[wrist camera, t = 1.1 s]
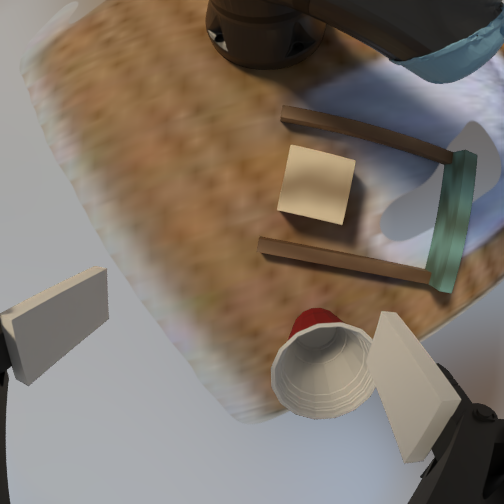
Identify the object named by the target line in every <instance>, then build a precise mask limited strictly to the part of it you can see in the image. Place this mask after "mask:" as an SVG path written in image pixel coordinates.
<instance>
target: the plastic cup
mask: <svg viewBox="0 0 504 504" xmlns="http://www.w3.org/2000/svg"><path fill="white" fill-rule="evenodd" d="M372 342H373V339H372V338H371V337H370V336H369V335H367V334H366V333H365V332H364V331H363V330H362V329H360V328H357V327H354V326H351V325H348V324H345V323H343V322H342V321H341V320H340V319H339V318H338V317H337V316H335V315H334V314H332V313H331V312H330V311H328V310H325V309H322V308H311V309H309V310H307V311H305V312H303V313H302V314H301V315H300V316H299V317H298V318H297V319H296V321H295V323H294V326H293V328H292V331H291V333H290V336H289V339H288V341H287V342H286V343H285V344H284V345H283V346H282V347H281V348H280V349H279V351H278V353H277V356H276V358H275V360H274V362H273V365H272V367H271V385H272V389H273V391H274V392H275V394H276V396H277V398H278V400H279V402H280V403H281V404H282V405H284V406H285V407H286V408H288V409H289V410H290V411H292V412H293V413H294V414H296V415H300V416H303V417H307V418H311V419H328V418H336V417H339V416H341V415H344V414H346V413H349V412H351V411H354V410H355V409H356V408H358V407H359V406H360V405H361V404H362V403H364V402H365V401H366V400H367V399H368V398H369V397H370V396H371V395H372V393H373V391H374V389H375V388H376V386H375V383H374V381H373V378H372V376H371V373H370V371H369V369H368V366H367V364H366V360H367V357H368V354H369V351H370V348H371V345H372Z"/></svg>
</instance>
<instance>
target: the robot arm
mask: <svg viewBox="0 0 504 504" xmlns="http://www.w3.org/2000/svg"><path fill="white" fill-rule="evenodd" d="M326 24H328V25H330V26H332V27H334V28H336V29H338V30H340V31H342V32H344V33H346V34H348V35H350V36H352V37H353V38H355V39H357V40H359V41H361V42H363V43H364V44H366V45H368V46H369V47H371V48H373V49H375V50H376V51H378V52H380V53H381V54H383V55H384V56H386V57H388V58H389V60H390V61H391V62H392V63H394V64H397V65H402V66H403V67H405V68H406V69H408V70H410V71H411V72H413V73H414V74H416V75H418V76H419V77H421V78H422V79H424V80H426V81H428V82H431V83H435V84H443V83H452V82H455V81H458V80H460V79H462V78H464V77H466V76H468V75H470V74H472V73H473V72H475V71H476V70H478V69H479V68H480V67H482V66H483V65H484V64H485V63H486V62H487V61H489V60H490V59H491V58H492V57H493V56H494V55H495V54H496V53H497V51H498V50H499V49H500V48H501V46H502V45H503V43H504V4H503V3H502V0H209V3H208V8H207V13H206V29H207V33H208V35H209V37H210V40H211V42H212V44H213V45H214V47H215V48H216V50H217V51H218V52H219V53H220V54H221V55H222V56H224V57H225V58H226V59H228V60H230V61H231V62H233V63H235V64H238V65H241V66H244V67H247V68H252V69H261V70H271V69H280V68H285V67H288V66H292V65H294V64H297V63H299V62H301V61H303V60H304V59H306V58H307V57H309V56H310V55H311V54H312V53H313V52H314V51H315V50H316V49H317V48H318V46H319V45H320V43H321V41H322V38H323V35H324V31H325V26H326ZM108 319H109V312H108V291H107V268H102V267H97V266H94V267H92V268H90V269H87V270H85V271H83V272H81V273H79V274H77V275H75V276H73V277H71V278H69V279H67V280H65V281H63V282H61V283H58V284H57V285H54V286H53V287H50V288H49V289H47V290H44V291H43V292H40V293H39V294H37V295H35V296H33V297H31V298H29V299H27V300H25V301H23V302H21V303H19V304H17V305H15V306H13V307H12V308H10V309H8V310H6V311H4V312H2V313H0V504H10V498H9V490H8V480H7V467H6V439H5V438H6V436H5V435H6V405H7V391H8V381H9V377H8V373H7V369H8V368H10V367H11V366H12V368H13V372H14V375H15V378H16V379H17V380H19V381H20V382H22V383H24V384H26V385H27V386H29V385H30V384H32V382H34V381H35V380H36V379H37V378H38V377H40V376H41V375H42V374H43V373H44V372H45V371H47V370H48V369H49V368H50V367H51V366H53V365H54V364H55V363H56V362H57V361H58V360H60V359H61V358H62V357H63V356H64V355H66V354H67V353H68V352H69V351H70V350H72V349H73V348H74V347H75V346H76V345H78V344H79V343H80V342H81V341H82V340H84V339H85V338H86V337H87V336H88V335H90V334H91V333H92V332H93V331H95V330H96V329H97V328H98V327H100V326H101V325H102V324H103V323H104V322H106V321H107V320H108ZM366 364H367V366H368V369H369V371H370V373H371V376H372V378H373V381H374V383H375V386H376V388H377V391H378V393H379V396H380V399H381V401H382V404H383V406H384V409H385V412H386V414H387V417H388V420H389V422H390V425H391V428H392V431H393V433H394V436H395V439H396V442H397V444H398V447H399V450H400V453H401V456H402V459H403V462H404V463H413V462H420V461H424V459H425V458H426V456H427V455H428V454H429V452H430V451H431V449H432V451H433V453H434V456H435V458H434V459H433V460H432V462H431V463H430V464H429V466H428V467H427V469H426V470H425V471H424V472H423V474H422V475H421V476H420V477H421V478H422V480H421V482H420V484H419V485H418V487H417V489H416V491H415V492H414V494H413V496H412V497H411V499H410V501H409V502H408V504H504V419H498V418H497V415H496V413H495V412H494V411H493V410H492V409H491V408H489V407H488V406H486V405H483V404H479V403H472V402H471V401H470V399H469V398H468V397H467V395H466V394H465V392H464V391H463V390H462V388H461V387H460V386H458V383H457V382H456V380H455V379H453V376H452V375H451V374H450V372H449V371H448V370H447V369H446V368H444V367H443V366H441V365H440V364H439V363H437V364H436V363H435V362H434V361H433V359H432V358H431V357H430V355H429V354H428V353H427V351H426V350H425V349H424V347H423V346H422V345H421V343H420V342H419V341H418V340H417V338H416V337H415V336H414V334H413V333H412V332H411V331H410V329H409V328H408V327H407V326H406V324H405V323H404V322H403V321H402V319H401V318H400V317H399V316H398V314H397V313H395V312H385V311H381V315H380V318H379V322H378V325H377V329H376V332H375V335H374V338H373V342H372V345H371V348H370V351H369V354H368V357H367V360H366Z"/></svg>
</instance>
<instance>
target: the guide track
mask: <svg viewBox="0 0 504 504" xmlns="http://www.w3.org/2000/svg"><path fill="white" fill-rule="evenodd" d="M281 121H282V122H287V123H293V124H298V125H303V126H309V127H313V128H318V129H323V130H327V131H332V132H336V133H340V134H345V135H349V136H353V137H357V138H361V139H364V140H368V141H372V142H375V143H379V144H383V145H386V146H389V147H393V148H396V149H399V150H403V151H406V152H409V153H412V154H415V155H418V156H421V157H424V158H427V159H430V160H433V161H435V162H438V163H441V164H444V173H443V181H442V188H441V195H440V201H439V207H438V213H437V218H436V223H435V228H434V233H433V238H432V242H431V247H430V251H429V255H428V260H427V264H426V268H425V269H422V268H417V267H413V266H408V265H403V264H398V263H393V262H388V261H383V260H379V259H374V258H369V257H364V256H359V255H354V254H349V253H344V252H339V251H333V250H328V249H323V248H318V247H313V246H308V245H302V244H297V243H292V242H287V241H281V240H276V239H271V238H265V237H260V238H259V241H258V247H257V252H260V253H266V254H271V255H276V256H282V257H287V258H292V259H298V260H303V261H308V262H314V263H319V264H324V265H329V266H335V267H340V268H345V269H351V270H356V271H361V272H367V273H372V274H377V275H382V276H388V277H393V278H398V279H404V280H409V281H414V282H419V283H425V284H429V285H431V286H432V287H434V288H435V289H437V290H438V291H441V292H447V293H452V290H453V287H454V284H455V280H456V276H457V273H458V269H459V265H460V261H461V257H462V253H463V248H464V244H465V239H466V234H467V229H468V224H469V218H470V213H471V206H472V200H473V192H474V185H475V176H476V166H477V155H476V154H474V153H472V152H469V151H467V150H462V151H457V152H451V151H448V150H446V149H443V148H441V147H438V146H435V145H433V144H430V143H427V142H424V141H421V140H419V139H416V138H413V137H410V136H407V135H404V134H401V133H397V132H394V131H391V130H388V129H384V128H381V127H377V126H374V125H370V124H367V123H363V122H359V121H355V120H352V119H348V118H344V117H339V116H335V115H331V114H326V113H322V112H317V111H312V110H307V109H302V108H297V107H291V106H285V105H283V106H282V112H281Z"/></svg>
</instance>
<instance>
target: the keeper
mask: <svg viewBox="0 0 504 504" xmlns="http://www.w3.org/2000/svg"><path fill="white" fill-rule="evenodd" d="M355 162H356V161H355V160H352V159H348V158H345V157H341V156H337V155H333V154H329V153H325V152H321V151H317V150H313V149H309V148H304V147H300V146H295V145H291V146H290V150H289V155H288V160H287V165H286V169H285V174H284V179H283V184H282V188H281V193H280V198H279V203H278V207H277V210H279V211H284V212H288V213H293V214H297V215H302V216H306V217H311V218H315V219H319V220H323V221H328V222H332V223H336V224H340V225H342V224H343V220H344V215H345V211H346V206H347V202H348V197H349V192H350V188H351V183H352V178H353V173H354V167H355Z"/></svg>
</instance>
